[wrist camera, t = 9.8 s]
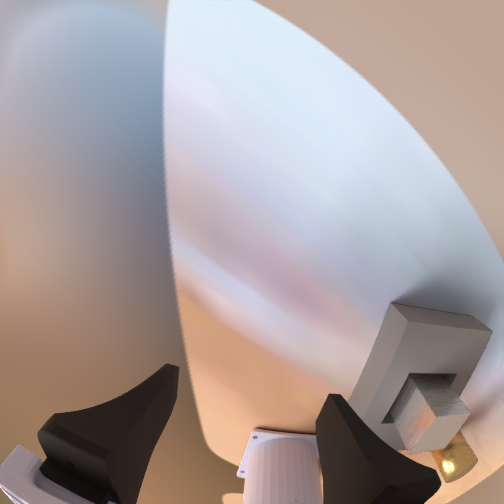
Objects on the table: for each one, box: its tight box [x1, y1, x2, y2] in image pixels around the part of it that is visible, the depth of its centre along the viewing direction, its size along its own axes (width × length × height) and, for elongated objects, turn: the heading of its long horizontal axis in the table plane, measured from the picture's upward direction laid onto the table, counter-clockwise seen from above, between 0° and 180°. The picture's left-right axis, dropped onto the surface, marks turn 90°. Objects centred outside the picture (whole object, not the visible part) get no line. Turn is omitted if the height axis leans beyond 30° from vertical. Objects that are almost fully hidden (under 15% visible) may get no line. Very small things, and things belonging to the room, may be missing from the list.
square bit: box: [389, 373, 471, 454], centre depth 18 cm, size 4×4×7 cm
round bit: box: [430, 430, 478, 483], centre depth 21 cm, size 4×4×7 cm
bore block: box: [348, 303, 493, 451], centre depth 20 cm, size 14×10×4 cm
